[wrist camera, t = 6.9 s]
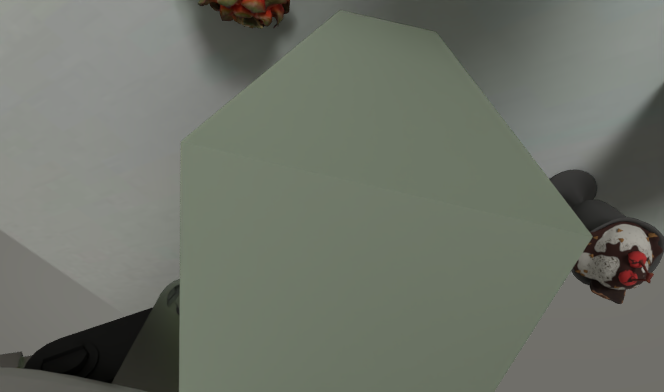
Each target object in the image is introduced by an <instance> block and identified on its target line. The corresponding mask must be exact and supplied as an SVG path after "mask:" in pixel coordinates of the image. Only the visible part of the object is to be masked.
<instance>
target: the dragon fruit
mask: <svg viewBox="0 0 664 392" xmlns="http://www.w3.org/2000/svg"><path fill="white" fill-rule="evenodd" d="M209 3H210V6H211V7H212V8H213V9H214V10H215V11H220V16H221V19H222V21H231V20H233V19H234V21H235V22H237V23H239V24H242V25H245V26H249V27H250V28H253V27H255V28H256V27H257V28H260V29H262V28H263V27H264V26H269V25H270V24H271V22H272V17H275V18H276V20H277V24H276V25H275V26H274V28H275V27H276V26H277V25H279V23H280V22H281V21H282V19H283V15H284V14H287V13H288V12H289V5H290V0H200V1H199V2H198V4H199V5H200V6H204V5H208V4H209ZM245 26H244V27H245Z"/></svg>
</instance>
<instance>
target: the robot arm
mask: <svg viewBox="0 0 664 392" xmlns="http://www.w3.org/2000/svg"><path fill="white" fill-rule="evenodd" d="M179 327H180V279H178V280H175V281H173V282H172V283H170V284H169V285H168V286H166V287H165V289H164V290H163V291H162V292H161V294H160V296H159V298H158V300H157V301H156V303H155V305H154V307H153V308H150V309H147V310H144V311H141V312H138V313H135V314H132V315H129V316H126V317H123V318H120V319H117V320H114V321H111V322H108V323H105V324H102V325H99V326H96V327H93V328H90V329H87V330H84V331H81V332H78V333H75V334H72V335H69V336H66V337H63V338H60V339H58V340H55V341H53V342H51V343H49V344H47V345H45V346H44V347H42V348H41V349H39V350H38V351H36V352H35V353H34V355H31V356H25V357H23V354H22V352H15V353H8V354H1V355H0V392H179Z"/></svg>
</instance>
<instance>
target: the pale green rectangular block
mask: <svg viewBox="0 0 664 392" xmlns="http://www.w3.org/2000/svg"><path fill="white" fill-rule="evenodd" d="M592 237H593V236H592V235H591V233H590V232H589V231H588V229H587V228H586V227H585V226H584V224H583V223H582V222H581V220H580V219H579V218H578V216H577V215H576V214H575V213H574V211H573V210H572V209H571V207H570V206H569V205H568V203H567V202H566V201H565V199H564V198H563V197H562V196H561V194H560V193H559V192H558V190H557V189H556V188H555V186H554V185H553V184H552V183H551V181H550V180H549V179H548V177H547V176H546V175H545V173H544V172H543V171H542V169H541V168H540V167H539V166H538V164H537V163H536V162H535V160H534V159H533V158H532V156H531V155H530V154H529V152H528V151H527V150H526V149H525V147H524V146H523V145H522V143H521V142H520V141H519V139H518V138H517V137H516V136H515V134H514V133H513V132H512V130H511V129H510V128H509V126H508V125H507V124H506V122H505V121H504V120H503V119H502V117H501V116H500V115H499V113H498V112H497V111H496V109H495V108H494V107H493V106H492V104H491V103H490V102H489V100H488V99H487V98H486V96H485V95H484V94H483V92H482V91H481V90H480V89H479V87H478V86H477V85H476V83H475V82H474V81H473V79H472V78H471V77H470V76H469V74H468V73H467V72H466V70H465V69H464V68H463V66H462V65H461V64H460V62H459V61H458V60H457V59H456V57H455V56H454V55H453V53H452V52H451V51H450V49H449V48H448V47H447V46H446V44H445V43H444V42H443V40H442V39H441V38H440V36H439V35H438V34H437V32H435V31H430V30H426V29H422V28H417V27H413V26H408V25H404V24H399V23H395V22H391V21H386V20H382V19H377V18H373V17H368V16H364V15H359V14H355V13H351V12H346V11H342V10H340V11H338V12H337V13H336V14H335V15H333V16H332V17H331V18H330V19H329V20H327V21H326V22H325V23H324V24H323V25H321V26H320V27H319V28H318V29H317V30H315V31H314V32H313V33H312V34H310V35H309V36H308V37H307V38H306V39H304V40H303V41H302V42H301V43H300V44H298V45H297V46H296V47H295V48H294V49H292V50H291V51H290V52H289V53H287V54H286V55H285V56H284V57H283V58H281V59H280V60H279V61H278V62H277V63H275V64H274V65H273V66H272V67H271V68H269V69H268V70H267V71H266V72H264V73H263V74H262V75H261V76H260V77H258V78H257V79H256V80H255V81H254V82H252V83H251V84H250V85H249V86H248V87H246V88H245V89H244V90H243V91H242V92H240V93H239V94H238V95H237V96H235V97H234V98H233V99H232V100H231V101H229V102H228V103H227V104H226V105H225V106H223V107H222V108H221V109H220V110H219V111H217V112H216V113H215V114H214V115H212V116H211V117H210V118H209V119H208V120H206V121H205V122H204V123H203V124H202V125H200V126H199V127H198V128H197V129H196V130H194V131H193V132H192V133H191V134H189V135H188V136H187V137H186V138H185V139H183V140H182V141H181V178H180V327H179V392H494V391H495V390H496V388H497V387H498V385H499V384H500V382H501V380H502V379H503V377H504V375H505V374H506V373H507V371H508V369H509V368H510V366H511V364H512V363H513V362H514V360H515V358H516V357H517V355H518V353H519V352H520V350H521V349H522V347H523V346H524V344H525V343H526V341H527V339H528V338H529V336H530V335H531V333H532V332H533V330H534V328H535V327H536V325H537V324H538V322H539V321H540V319H541V317H542V316H543V314H544V313H545V311H546V309H547V308H548V306H549V305H550V303H551V302H552V300H553V298H554V297H555V295H556V294H557V292H558V291H559V289H560V287H561V286H562V284H563V283H564V281H565V280H566V278H567V276H568V275H569V273H570V272H571V270H572V269H573V267H574V265H575V264H576V262H577V261H578V259H579V257H580V256H581V254H582V253H583V251H584V250H585V248H586V246H587V245H588V243H589V242H590V240H591V239H592Z"/></svg>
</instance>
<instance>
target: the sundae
mask: <svg viewBox="0 0 664 392" xmlns="http://www.w3.org/2000/svg"><path fill="white" fill-rule="evenodd" d="M550 181H551V183H552V184H553V185H554V186H555V188H556V189H557V190H558V192H559V193H560V194H561V196H562V197H563V198H564V199H565V201H566V202H567V203H568V205H569V206H570V207H571V209H572V210H573V211H574V213H575V214H576V215H577V216H578V218H579V219H580V220H581V222H582V223H583V224H584V226H585V227H586V228H587V229H588V231H589V232H590V233H591V235H592V236H593V237H592V239H591V240H590V242H589V243H588V245H587V246H586V248H585V250H584V251H583V253H582V254H581V256H580V257H579V259H578V261H577V262H576V264H575V265H574V267H573V269H572V270H571V271H572V273H573V275H574V276H575V277H576V278H577V279H578V280H580V281H581V282H583V283H584V284H587V285H590V289H591V291H592V292H593V293H595V294H597V295H599V296H601V297H603V298H605V299H608V300H611V301H613V302H615V303H617V304H621V303H623V300H624V296H625V291H626V289H631V288H636V287H637V286H638V285H640V284H641V283H642V282H643V281H647V282H648V283H650V279H651V278H652V276H653V275H654V274H653V273H652V272H653V271H654V270H655V268H656V267H657V266H658V264H659V262H660V260H661V258H662V255H663V252H664V236H663V235H662V234H661V233H660V232H659V231H658V230H657V229H656V228H655V227H653V226H652V225H650V224H648V223H646V222H643V221H641V220H638V219H635V218H629V217H626V216H624V215H623V214H622V213H621V212H619V211H618V210H617V209H615V208H614V207H612V206H610V205H609V204H607V203H605V202H603V201H600V200H593V199H594V197H595V195H596V191H597V185H596V181H595V179H594V178H593V177H592V176H591V175H590V174H589V173H587V172H584V171H580V170H568V171H565V172H562V173H559V174H557V175H555V176H554V177H552V178H551V179H550Z"/></svg>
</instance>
